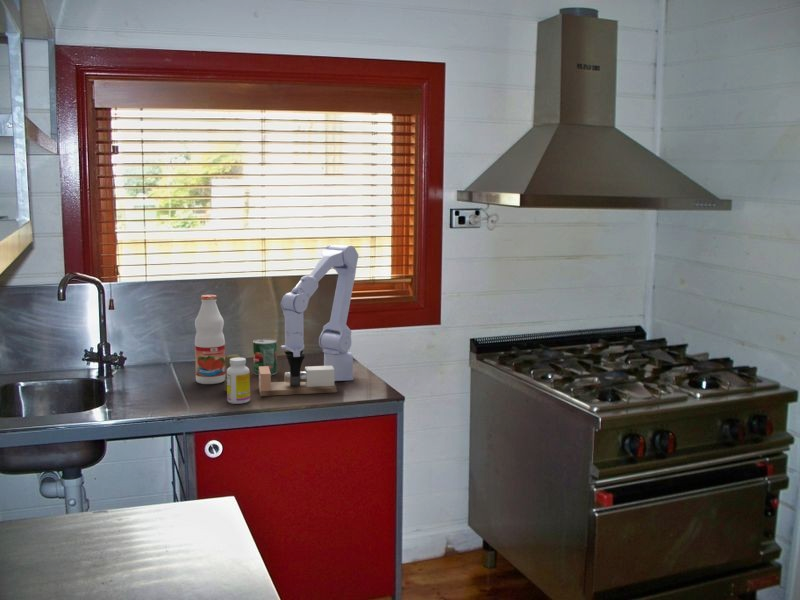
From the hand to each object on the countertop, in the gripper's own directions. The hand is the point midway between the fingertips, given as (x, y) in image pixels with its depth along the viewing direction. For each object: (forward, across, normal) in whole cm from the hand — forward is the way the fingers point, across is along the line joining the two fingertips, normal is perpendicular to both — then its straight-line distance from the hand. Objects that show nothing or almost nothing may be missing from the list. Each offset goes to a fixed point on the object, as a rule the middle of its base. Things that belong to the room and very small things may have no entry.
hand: (294, 374), depth 257 cm
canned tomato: (+5, -24, -8) cm, 26 cm away
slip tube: (+3, 0, +4) cm, 5 cm away
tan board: (+5, 0, +1) cm, 5 cm away
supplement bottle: (+5, +10, -18) cm, 21 cm away
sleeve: (+3, 0, +8) cm, 9 cm away
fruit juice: (+5, -16, -26) cm, 31 cm away
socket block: (+3, 0, -9) cm, 10 cm away
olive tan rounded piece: (+5, -4, -18) cm, 20 cm away
